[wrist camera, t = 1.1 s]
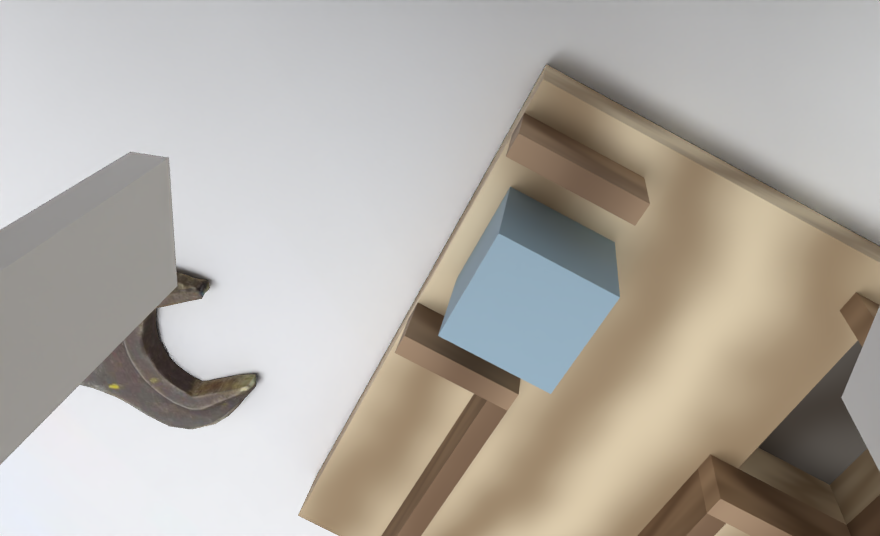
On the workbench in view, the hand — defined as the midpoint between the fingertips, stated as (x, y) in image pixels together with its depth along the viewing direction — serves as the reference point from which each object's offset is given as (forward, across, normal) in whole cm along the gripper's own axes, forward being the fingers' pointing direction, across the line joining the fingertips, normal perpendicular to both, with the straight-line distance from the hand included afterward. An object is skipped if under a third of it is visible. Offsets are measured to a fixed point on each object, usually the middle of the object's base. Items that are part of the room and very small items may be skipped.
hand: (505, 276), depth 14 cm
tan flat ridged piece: (+20, +7, -17) cm, 27 cm away
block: (+18, +1, -8) cm, 19 cm away
